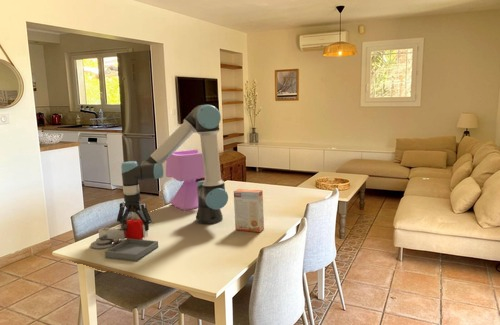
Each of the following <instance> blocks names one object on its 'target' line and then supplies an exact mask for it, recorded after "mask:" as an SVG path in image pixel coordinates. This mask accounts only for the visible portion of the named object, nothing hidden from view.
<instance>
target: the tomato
mask: <svg viewBox="0 0 500 325" xmlns="http://www.w3.org/2000/svg"><path fill="white" fill-rule="evenodd" d="M126 221H127V228H128V230H126V231H127V238H126V239H139V240H143V239H145V238H144V235H143V225H144V223H143V222H142V220H141V219H138V218H134V219H131V218H130V219H128V220H126ZM126 239H125V240H126Z"/></svg>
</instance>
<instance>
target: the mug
mask: <svg viewBox="0 0 500 325" xmlns="http://www.w3.org/2000/svg"><path fill="white" fill-rule="evenodd" d="M140 208H141V207H140ZM141 210H142V209H141ZM138 211H139V210H138ZM128 216H129V218H130V220H131V219H134V218H138V219H140V217H139V216H138V214H136V213H135V212H130V213H129V214H128Z"/></svg>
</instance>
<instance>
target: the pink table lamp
mask: <svg viewBox="0 0 500 325" xmlns="http://www.w3.org/2000/svg"><path fill="white" fill-rule="evenodd" d="M165 163H166V164H165V177H166V178H171V179H174V180H176V181H178V182H183V183H182V184H180V185H181V186H179V188H178V190H177V192H176V193H175V194H174V197H173V198H172V199H171V201H170V205H171V204H172V205H171V206H173V205H174V206H173V207H175V206H176V207H175V208H177V209H179V210H181V211H183V212H186V211H191V210H195V209H198V194H197V182H198V181H196V180H200V179H203V178H204V179H205V177H204V167H203V158H202V152H199V150H198V149H196V148H195V149H189V150H188V149H187V150H179V151H178V150H176V151H175V152H174V153H173V154H172V155H171V156H170V157H169V158H168V159H167V160H166V161H165Z"/></svg>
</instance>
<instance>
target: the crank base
mask: <svg viewBox="0 0 500 325" xmlns="http://www.w3.org/2000/svg"><path fill="white" fill-rule="evenodd" d="M119 243H121V241H120V239H106V240H100V239H99V237H98V238H96V239H95V240H94V241H92V243H91V244H90V247H91V249H93V250H105V249H110V248H112V247H114V246H116V245H117V244H119Z"/></svg>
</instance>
